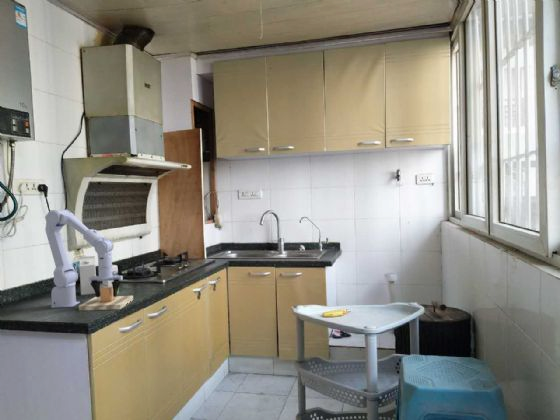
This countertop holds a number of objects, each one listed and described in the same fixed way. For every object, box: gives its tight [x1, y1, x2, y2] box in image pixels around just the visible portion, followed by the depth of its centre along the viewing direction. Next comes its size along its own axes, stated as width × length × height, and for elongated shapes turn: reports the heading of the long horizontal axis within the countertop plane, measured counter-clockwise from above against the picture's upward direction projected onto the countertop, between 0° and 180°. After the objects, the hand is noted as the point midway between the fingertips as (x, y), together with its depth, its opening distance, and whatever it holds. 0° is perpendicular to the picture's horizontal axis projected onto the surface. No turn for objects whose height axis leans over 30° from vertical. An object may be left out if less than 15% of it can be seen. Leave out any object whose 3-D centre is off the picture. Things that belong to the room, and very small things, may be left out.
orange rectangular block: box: [100, 286, 113, 302], centre depth 187 cm, size 4×4×8 cm
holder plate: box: [78, 295, 134, 312], centre depth 187 cm, size 18×16×2 cm
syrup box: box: [102, 264, 120, 295], centre depth 209 cm, size 6×6×14 cm
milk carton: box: [79, 255, 97, 296], centre depth 212 cm, size 7×7×19 cm
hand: (106, 296), depth 187 cm, fingers open, 7 cm apart
